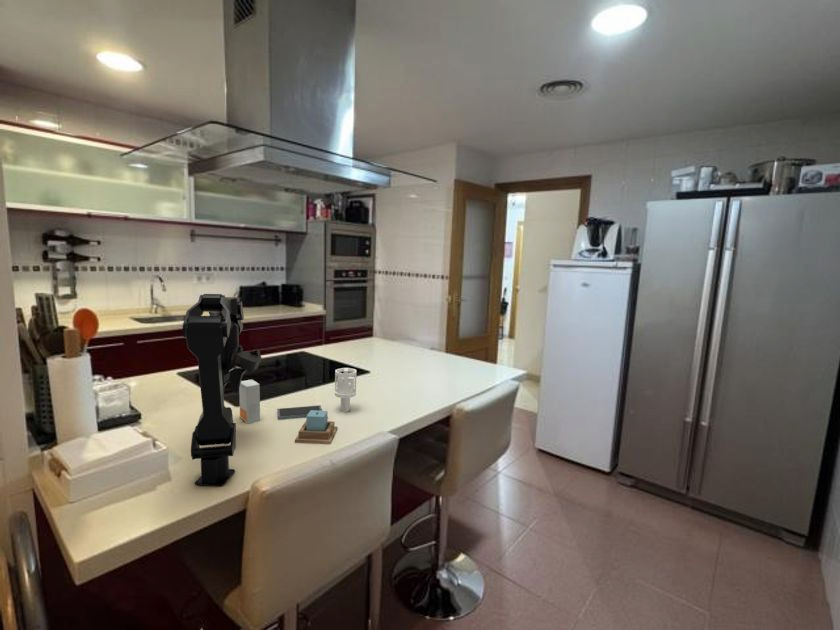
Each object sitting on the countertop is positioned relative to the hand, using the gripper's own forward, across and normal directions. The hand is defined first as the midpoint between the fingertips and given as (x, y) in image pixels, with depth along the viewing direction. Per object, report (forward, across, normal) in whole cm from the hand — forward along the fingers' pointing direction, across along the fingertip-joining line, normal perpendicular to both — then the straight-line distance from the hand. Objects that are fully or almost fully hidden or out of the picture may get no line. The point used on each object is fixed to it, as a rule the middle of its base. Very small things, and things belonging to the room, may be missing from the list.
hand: (228, 398), depth 113 cm
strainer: (+12, +25, -28) cm, 39 cm away
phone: (+12, +20, -14) cm, 27 cm away
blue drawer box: (+11, +4, -24) cm, 26 cm away
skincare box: (+12, +14, 0) cm, 19 cm away
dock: (+12, +4, -24) cm, 27 cm away
